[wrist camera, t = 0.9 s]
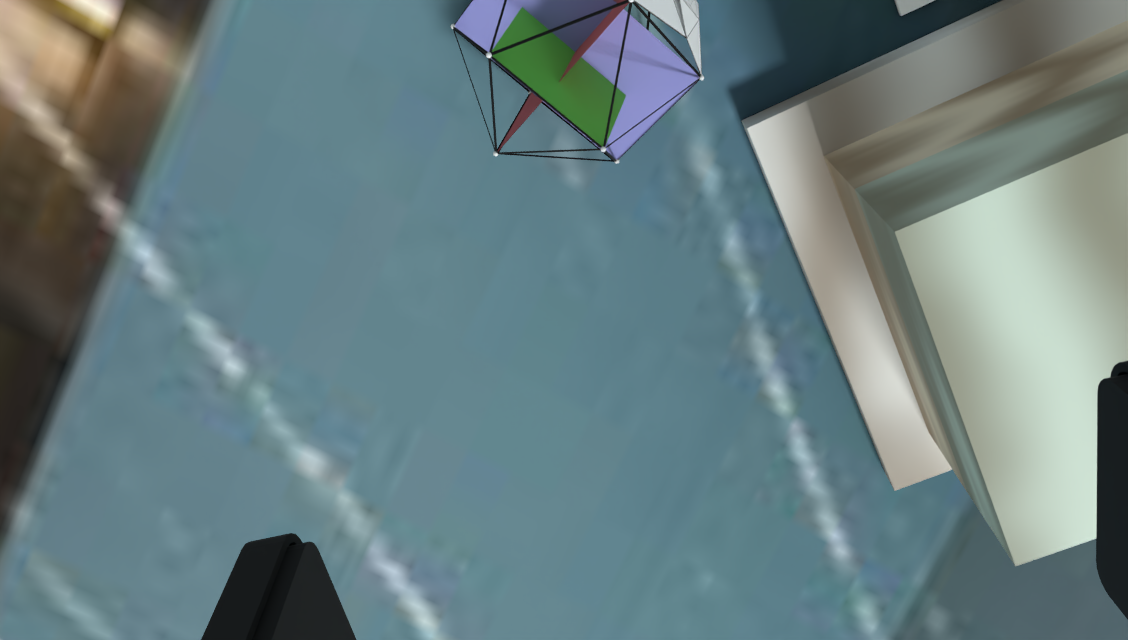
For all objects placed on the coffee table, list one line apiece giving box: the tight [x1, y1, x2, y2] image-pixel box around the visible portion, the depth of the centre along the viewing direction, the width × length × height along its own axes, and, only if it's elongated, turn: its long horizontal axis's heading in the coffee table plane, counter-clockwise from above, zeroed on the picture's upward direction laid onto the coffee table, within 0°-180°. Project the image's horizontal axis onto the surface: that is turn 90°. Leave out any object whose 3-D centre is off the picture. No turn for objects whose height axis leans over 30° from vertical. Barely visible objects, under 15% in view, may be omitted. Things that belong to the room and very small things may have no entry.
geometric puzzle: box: [451, 0, 704, 163], centre depth 29 cm, size 7×7×8 cm
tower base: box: [742, 0, 1128, 566], centre depth 30 cm, size 16×16×9 cm
